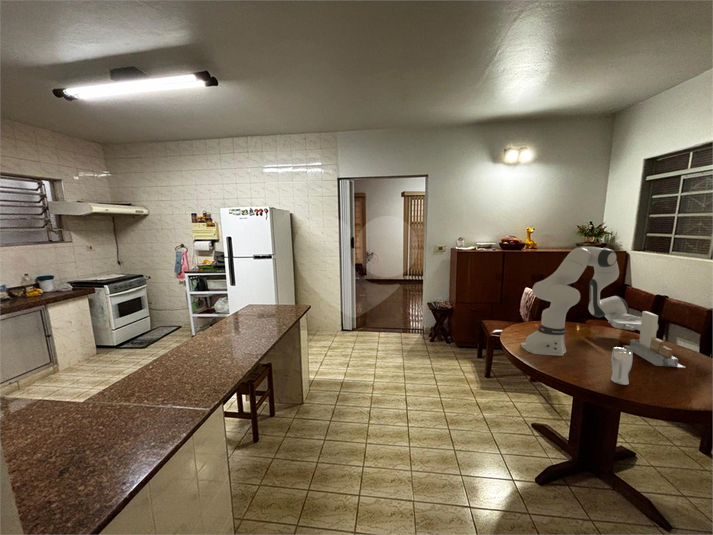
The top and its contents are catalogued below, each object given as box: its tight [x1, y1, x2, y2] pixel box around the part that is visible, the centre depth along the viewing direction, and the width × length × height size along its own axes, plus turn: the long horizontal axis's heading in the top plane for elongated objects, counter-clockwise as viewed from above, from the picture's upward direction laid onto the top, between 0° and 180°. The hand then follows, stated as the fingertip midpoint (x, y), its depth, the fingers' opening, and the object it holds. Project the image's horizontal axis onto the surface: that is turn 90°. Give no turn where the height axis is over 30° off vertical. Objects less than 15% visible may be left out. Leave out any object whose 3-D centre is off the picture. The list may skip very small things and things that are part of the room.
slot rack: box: [622, 338, 686, 369], centre depth 151 cm, size 12×25×6 cm, turn 166°
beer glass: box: [610, 346, 634, 386], centre depth 129 cm, size 7×7×15 cm
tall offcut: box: [651, 337, 665, 353], centre depth 148 cm, size 2×5×10 cm, turn 166°
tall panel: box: [638, 310, 659, 349], centre depth 154 cm, size 2×8×22 cm, turn 166°
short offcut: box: [659, 345, 673, 358], centre depth 143 cm, size 2×5×8 cm, turn 166°
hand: (643, 329), depth 157 cm, fingers open, 8 cm apart
